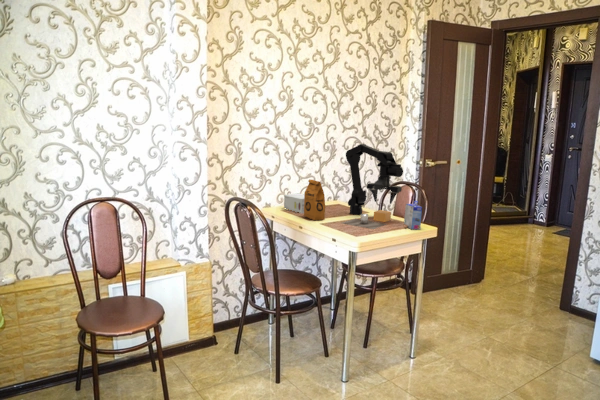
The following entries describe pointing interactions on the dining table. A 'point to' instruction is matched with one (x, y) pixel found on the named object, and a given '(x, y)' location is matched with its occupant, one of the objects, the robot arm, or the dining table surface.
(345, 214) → the dining table surface
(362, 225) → the board
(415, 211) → the ink cartridge box
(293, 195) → the supplement box
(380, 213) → the tan orange cube
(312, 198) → the coffee package
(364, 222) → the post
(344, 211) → the dining table surface
